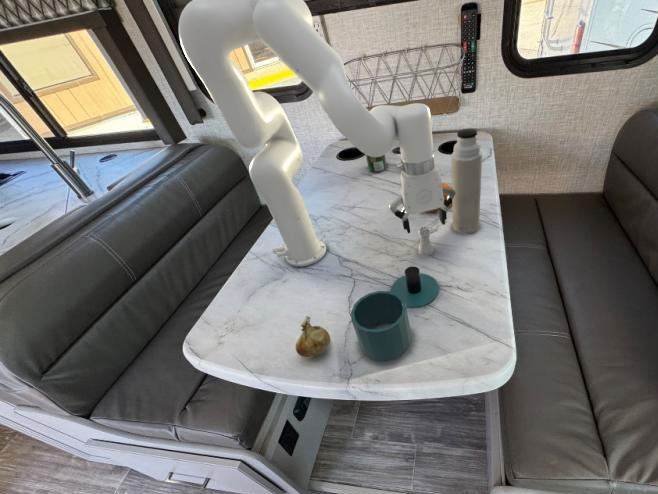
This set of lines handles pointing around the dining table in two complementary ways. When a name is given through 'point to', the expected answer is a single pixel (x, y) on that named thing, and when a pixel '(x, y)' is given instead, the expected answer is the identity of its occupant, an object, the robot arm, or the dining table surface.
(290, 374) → the dining table surface
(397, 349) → the canister
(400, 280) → the canister lid
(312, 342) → the onion
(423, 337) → the dining table surface
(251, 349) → the dining table surface
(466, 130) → the thermos bottle
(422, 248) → the rook chess piece
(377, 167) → the coffee jar
